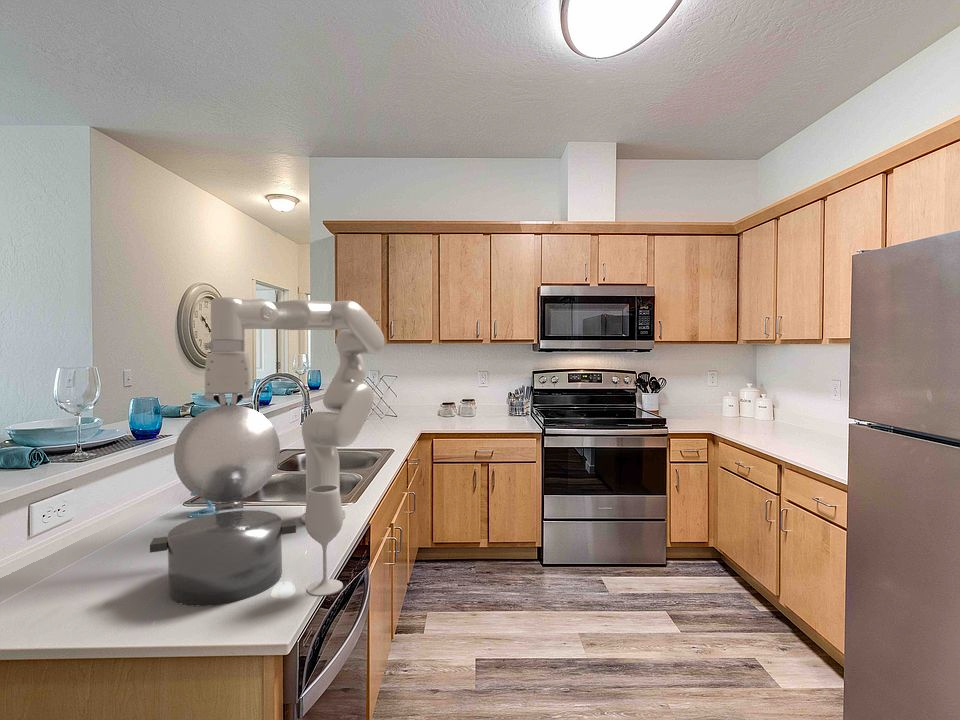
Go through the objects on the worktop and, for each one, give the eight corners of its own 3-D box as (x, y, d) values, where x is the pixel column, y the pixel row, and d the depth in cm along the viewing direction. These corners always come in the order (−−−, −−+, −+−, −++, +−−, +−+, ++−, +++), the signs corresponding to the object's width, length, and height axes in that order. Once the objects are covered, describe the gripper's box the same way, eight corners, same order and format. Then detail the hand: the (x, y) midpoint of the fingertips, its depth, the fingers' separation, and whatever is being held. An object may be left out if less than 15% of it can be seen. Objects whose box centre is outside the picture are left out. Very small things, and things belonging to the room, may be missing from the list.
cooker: (161, 572, 118) (160, 519, 118) (292, 552, 129) (292, 504, 129) (142, 618, 98) (140, 554, 98) (299, 590, 109) (298, 533, 109)
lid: (173, 516, 119) (175, 514, 123) (281, 504, 128) (280, 502, 132) (173, 407, 122) (175, 408, 126) (279, 402, 131) (278, 403, 135)
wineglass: (305, 598, 105) (303, 494, 105) (307, 582, 113) (305, 485, 112) (344, 593, 107) (342, 491, 107) (343, 578, 115) (342, 482, 114)
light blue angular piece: (227, 509, 165) (227, 471, 164) (210, 518, 156) (209, 478, 156) (205, 508, 166) (204, 471, 165) (187, 517, 158) (186, 477, 157)
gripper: (191, 347, 123) (192, 425, 124) (260, 347, 129) (261, 422, 129) (195, 347, 130) (196, 421, 131) (260, 347, 136) (261, 418, 136)
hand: (228, 421), depth 130 cm, fingers closed
